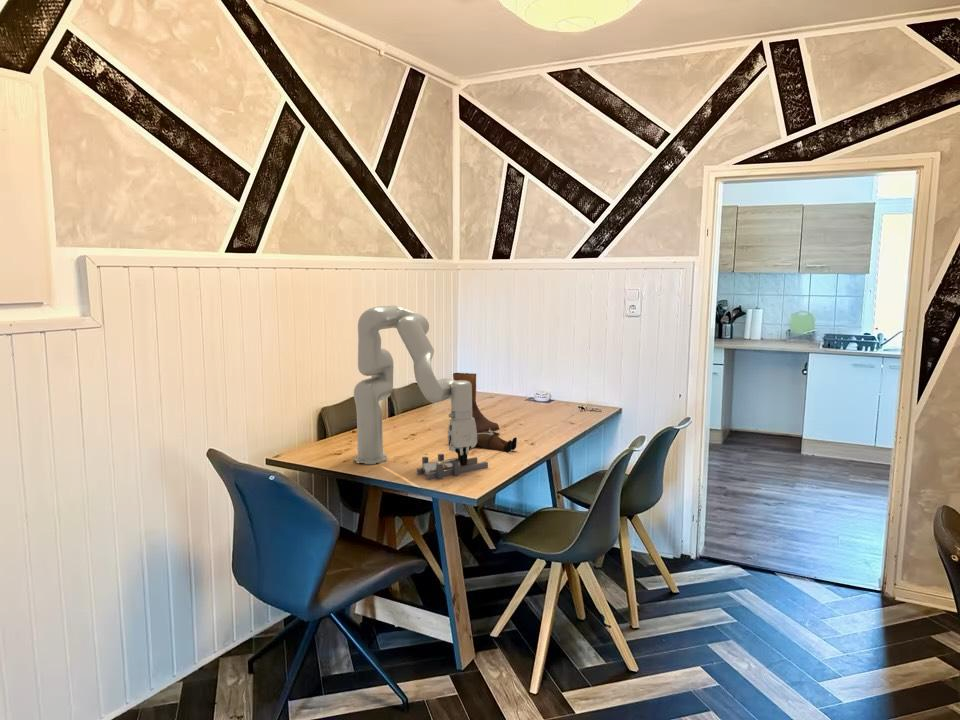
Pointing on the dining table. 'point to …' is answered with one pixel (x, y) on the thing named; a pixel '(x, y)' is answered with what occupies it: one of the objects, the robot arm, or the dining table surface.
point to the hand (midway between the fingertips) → (462, 464)
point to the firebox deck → (455, 471)
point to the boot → (480, 420)
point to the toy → (494, 441)
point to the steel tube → (432, 465)
